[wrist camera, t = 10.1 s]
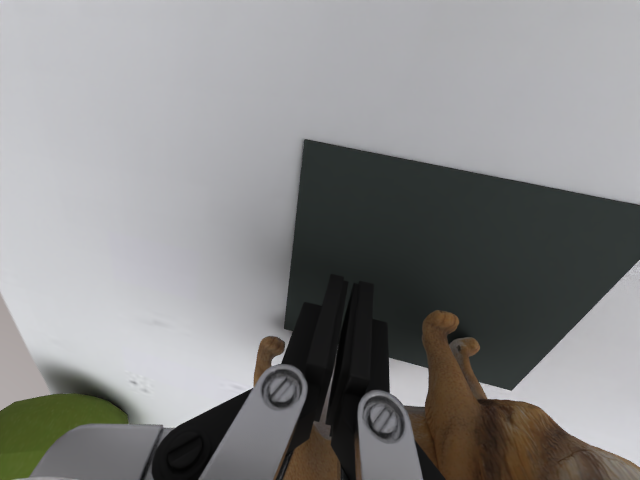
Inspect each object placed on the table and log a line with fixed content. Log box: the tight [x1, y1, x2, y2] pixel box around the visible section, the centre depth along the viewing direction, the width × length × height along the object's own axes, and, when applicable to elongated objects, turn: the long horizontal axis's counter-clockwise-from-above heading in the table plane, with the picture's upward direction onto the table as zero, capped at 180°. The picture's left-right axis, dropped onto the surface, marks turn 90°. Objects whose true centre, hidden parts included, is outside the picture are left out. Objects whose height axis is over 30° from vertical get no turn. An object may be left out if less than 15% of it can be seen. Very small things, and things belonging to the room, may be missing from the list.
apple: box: [0, 393, 129, 480], centre depth 21 cm, size 11×10×10 cm
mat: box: [284, 139, 640, 391], centre depth 11 cm, size 10×12×1 cm
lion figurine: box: [254, 310, 640, 480], centre depth 9 cm, size 15×5×9 cm, turn 121°
